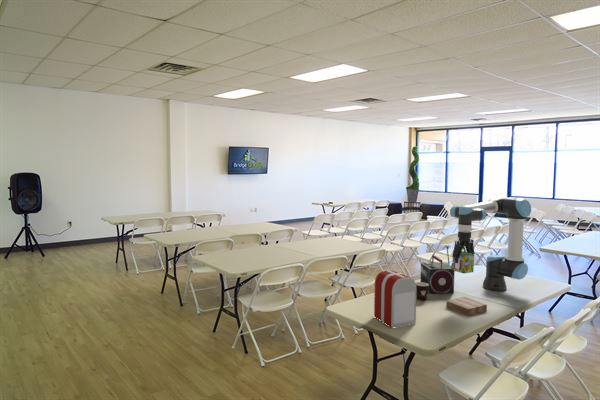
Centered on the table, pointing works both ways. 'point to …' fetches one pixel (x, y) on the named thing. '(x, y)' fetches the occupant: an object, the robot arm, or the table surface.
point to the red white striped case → (395, 298)
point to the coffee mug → (421, 291)
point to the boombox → (438, 276)
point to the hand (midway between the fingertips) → (463, 267)
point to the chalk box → (464, 262)
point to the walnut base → (466, 306)
